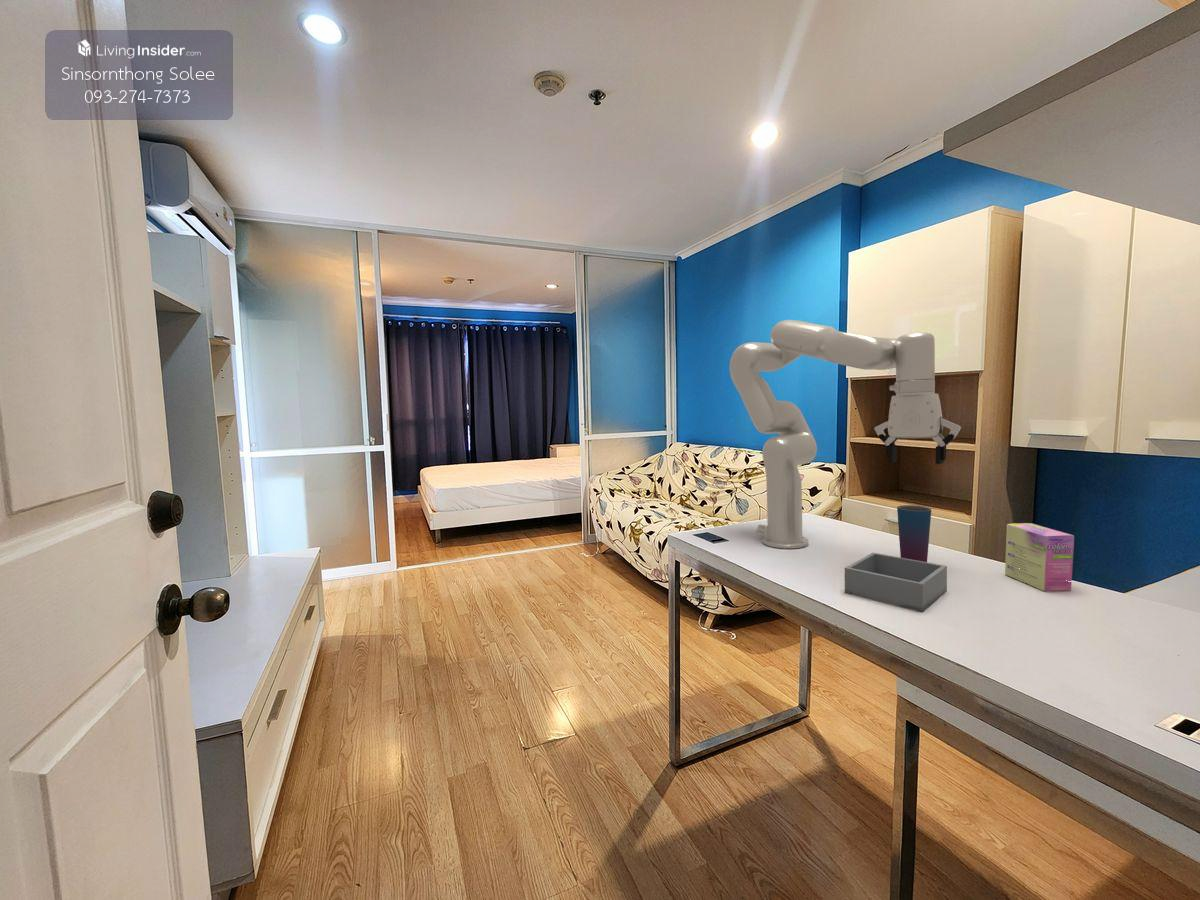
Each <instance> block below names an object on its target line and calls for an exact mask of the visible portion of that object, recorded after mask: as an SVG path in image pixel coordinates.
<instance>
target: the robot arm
mask: <svg viewBox="0 0 1200 900" xmlns="http://www.w3.org/2000/svg"><path fill="white" fill-rule="evenodd" d="M770 341H771V342H759V341H754V342H753V341H752V342H750V341H749V342H746V343H745V342H744V343H742V344H741V345H739V346H738V347H736V348H735V350H734V351H733V353H732V354H731V358H730V361H729V374H730V378H731V381H732V382H733V384H734V387H735V388H736V390H737V392H738V393H739V395H740V397H741V400H742V402H743V404H744V407H745V408H746V411H747V413H748V415H749V417H750V420H751V422H752V423H753V425H754V427H755V429H756V430H757V431H758V432H759V434H760V433H761V434H765V435H769V434H770V435H771V434H778V435H774V436H772V437H770V438H768V439H767V441H766V442H765V443H764V445H763V447H762V453H761V454H762V461H763V466H764V470H765V479H766V480H765V481H766V482H765V483H766V513H767V514H766V515H767V516H766V517H767V518H766V520H767V523H766V525H764V524H758V525H757V527H756V532H757V533H760V534H761V533H762V534H763V537H762V540H761V541H762V542H761V543H762V544H764V545H765V546H768V547H770V548H772V547H773V548H776V549H786V550H787V549H791V550H792V549H799V548H804V547H806V546H808V545H809V539H808V538H807V537H805V536H803V488H802V487H803V486H802V477H801V474H800V471H799V469H798V466H802V465H806V464H809V463H811V462H812V461H813V460H814V459H815V458H816V456H817V452H818V446H817V442H816V439H815V437H814V434H813V433H812V431H811V428H810V427H809V425H808V423H807V421H806V419H805V417H804V414H803V413H802V411H801V409H800V408H799V407H798V406H797V405H796V404H794V403H793V402H791V401H788V400H777V399H776V397H775V395H774V394H773V392H772V389H771V386H770V385H769V383H768V382H767V381H766V380H765V379H764V378H763V377H762V375H761V374H760V373H759V372H775V371H778V370H780V369H782V368H784V367H786V366H787V365H789V364H791V363H792V362H794V361H795V360H797V359H799V357H801V356H807V357H811V358H815V359H817V360H822V361H827V362H830V363H833V364H838V365H842V366H846V367H850V368H854V369H860V370H868V371H869V370H871V371H872V370H877V371H885V370H891V369H895V381H894V384H892V385H891V384H890V385H889V391H890V392H891V391H893V392H894V393H895V395H891V398H890V403H889V410H888V412H889V413H888V420H887V421H885V422H883V423H881V424H879V425H877V426H875V427H874V428H873V430H874V431H875V433H876V435H877V436H878V439H879V440H880V441H881V442H883V444H884V445H885V446H886V458H887V459H888V463H895V462H897V461H898V450H897V449H898V447H897V444H896V442H897V441H898V440H899V439H932V440H933V441H934V442H935V443H936V444H937V446H935V464H936V465H941V464H944V462H945V461H946V460H947V446H948V445H949V444H950V443H951V442H952V441H953V440H954V439H956V437H957V435H958V434H959V432H960V430H961V429H962V426H961V425H959V424H957V423H954V422H952V421H949V420H947V419H945V418H943V412H942V405H941V400H940V396H939V393H935V392H936V389H935V388H936V379H935V376H936V373H935V371H936V369H935V368H936V365H935V358H936V357H935V354H936V353H935V351H936V350H935V349H936V348H935V346H936V344H935V342H936V341H935V337H934V335H933V334H932V333H931V332H917V333H916V332H914V333H907V334H903V335H901V336H899V337H898V338H889V337H887V338H886V337H878V336H868V335H861V334H855V333H850V332H849V333H848V332H846V331H845V332H844V331H839V330H837V329H836V328H835V327H833V326H830V325H824V324H818V323H817V324H816V323H811V322H808V321H805V320H804V321H803V320H795V319H784V320H781V321H779V322H777V323H776V324H775V325H774V326H773V328H772V329H771V332H770ZM944 427H945V428H947V429H949V430H950V431H949V433H948V435H946V436H945V437H944V436H943V432H944V431H943V430H944ZM885 429H887V432H888V435H887V434H886V433H885V431H884V430H885Z"/></svg>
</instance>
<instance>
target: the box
mask: <svg viewBox="0 0 1200 900" xmlns="http://www.w3.org/2000/svg"><path fill="white" fill-rule="evenodd" d="M1005 535H1006V537H1005V539H1006V540H1005V565H1004V566H1005V568H1004V575H1005V574H1006V575H1005V576H1008V577H1011V578H1013V579H1016V580H1017V581H1020V582H1022V583H1025V584H1026V583H1027V584H1026V585H1029V586H1031V587H1033V588H1035V587H1036V589H1038V590H1040V591H1041V590H1042V592H1044V591H1052V592H1066V591H1065V590H1071V591H1072V582H1068V581H1072V579H1073V567H1074V565H1073V562H1074V548H1075V547H1074V546H1075V535H1074V534H1071V533H1067V532H1063V531H1060V530H1056V529H1052V528H1049V527H1045V526H1042V525H1039V524H1035V523H1030V522H1029V523H1028V522H1023V523H1020V522H1019V523H1007V524H1006V534H1005ZM1019 568H1020V569H1019ZM1066 580H1067V581H1066Z"/></svg>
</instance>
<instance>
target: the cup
mask: <svg viewBox="0 0 1200 900" xmlns="http://www.w3.org/2000/svg"><path fill="white" fill-rule="evenodd" d="M896 510H897V524H898V538H899V539H898V540H899V551H900V552H899V557H901V558H906V559H912V560H917V561H923V562H928V555H929V544H930V534H931V533H930V532H931V519H932V508H931V507H929V506H925V505H924V506H923V505H915V504H903V505H898V506H897V507H896Z"/></svg>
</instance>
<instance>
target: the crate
mask: <svg viewBox="0 0 1200 900" xmlns="http://www.w3.org/2000/svg"><path fill="white" fill-rule="evenodd" d="M947 591H948V565H944V564H939V563H933V562H928V561H927V562H923V561H917V560H912V559H906V558H901V556H894V555H890V554H889V555H888V554H883V553H877V552H871V553H869V554H868V555H866V556H864V557H863V558H860V559H859V560H857V561H854V562H853V563H851V564H849V565H847V566H845V567H844V594H848V595H851V596H856V597H860V598H863V599H867V600H871V601H875V602H880V603H884V604H887V605H891V606H895V607H899V608H903V609H908V610H912V611H916V612H921V613H923V612H925V611H926V610H927V609H928V608H929V607H930V606H932V605H933V604H934V603H936V601H937V600H938V599H940V598H941V597H942V596H943V595H944V594H945V592H946V593H947Z"/></svg>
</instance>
